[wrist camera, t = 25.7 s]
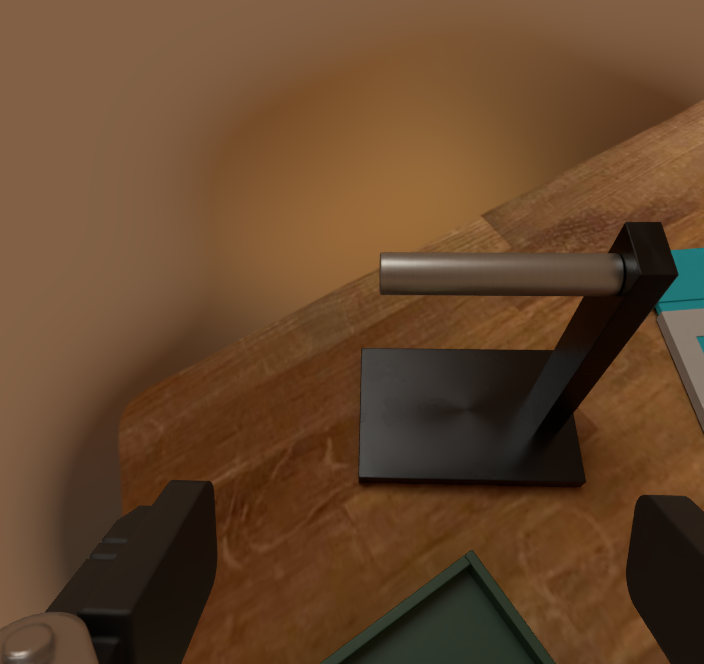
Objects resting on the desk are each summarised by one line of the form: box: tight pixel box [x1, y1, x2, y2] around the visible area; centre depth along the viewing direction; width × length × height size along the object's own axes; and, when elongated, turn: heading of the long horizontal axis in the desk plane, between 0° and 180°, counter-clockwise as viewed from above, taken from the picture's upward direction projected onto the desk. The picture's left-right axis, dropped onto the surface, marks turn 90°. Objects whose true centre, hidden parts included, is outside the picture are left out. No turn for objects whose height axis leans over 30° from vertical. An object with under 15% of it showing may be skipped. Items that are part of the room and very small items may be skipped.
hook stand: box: [358, 222, 679, 487], centre depth 33 cm, size 15×10×19 cm, turn 88°
